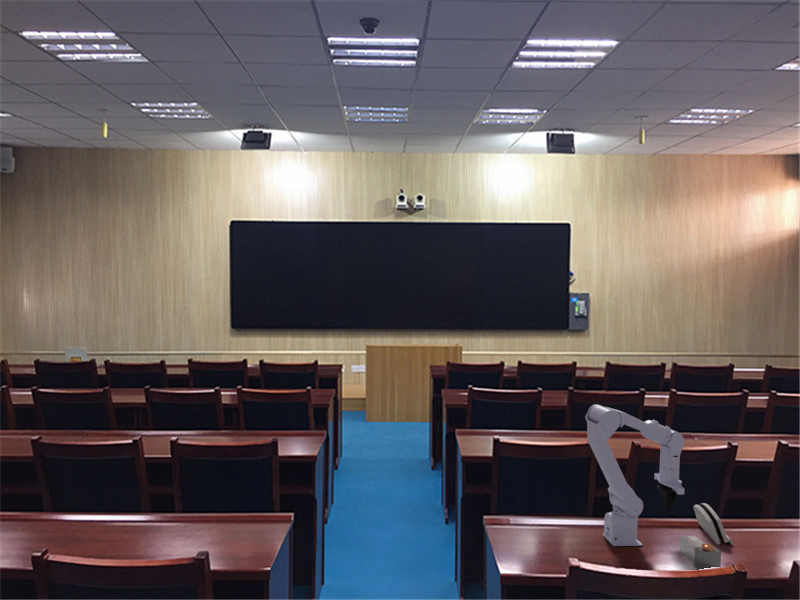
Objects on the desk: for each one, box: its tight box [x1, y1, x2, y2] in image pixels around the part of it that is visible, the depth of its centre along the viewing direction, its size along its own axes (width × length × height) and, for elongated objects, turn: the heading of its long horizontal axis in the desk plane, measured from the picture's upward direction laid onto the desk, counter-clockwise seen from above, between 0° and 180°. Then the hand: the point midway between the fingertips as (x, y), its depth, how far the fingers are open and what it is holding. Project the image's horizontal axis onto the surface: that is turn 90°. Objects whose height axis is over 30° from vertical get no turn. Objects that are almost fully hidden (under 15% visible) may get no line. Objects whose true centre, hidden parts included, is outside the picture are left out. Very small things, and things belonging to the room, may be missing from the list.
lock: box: [679, 535, 705, 565], centre depth 173 cm, size 8×5×5 cm, turn 5°
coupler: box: [693, 542, 722, 570], centre depth 170 cm, size 6×11×6 cm, turn 4°
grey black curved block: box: [692, 502, 734, 546], centre depth 191 cm, size 17×5×10 cm, turn 171°
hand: (667, 508), depth 186 cm, fingers closed
